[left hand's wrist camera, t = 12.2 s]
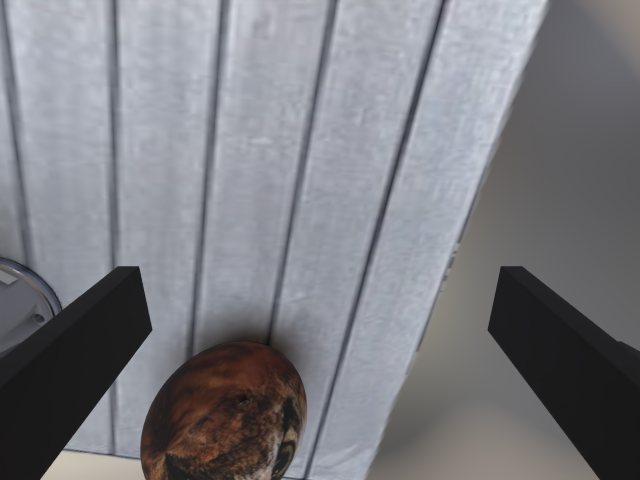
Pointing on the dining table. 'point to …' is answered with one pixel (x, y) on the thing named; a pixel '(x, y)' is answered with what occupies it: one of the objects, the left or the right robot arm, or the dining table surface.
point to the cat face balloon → (226, 417)
